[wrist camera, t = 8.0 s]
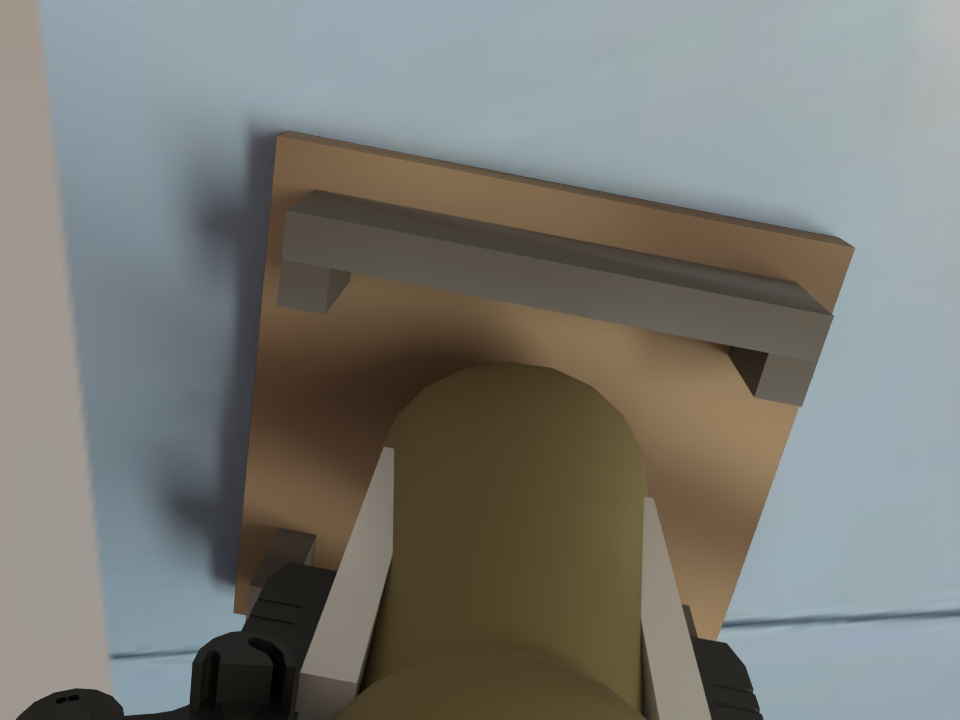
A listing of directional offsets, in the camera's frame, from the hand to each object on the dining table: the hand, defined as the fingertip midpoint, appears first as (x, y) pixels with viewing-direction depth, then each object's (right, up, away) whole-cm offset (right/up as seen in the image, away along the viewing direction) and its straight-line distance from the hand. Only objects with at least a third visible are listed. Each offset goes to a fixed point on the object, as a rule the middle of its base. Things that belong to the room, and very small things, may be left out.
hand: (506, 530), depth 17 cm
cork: (0, +1, +1) cm, 2 cm away
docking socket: (0, +2, +4) cm, 5 cm away
